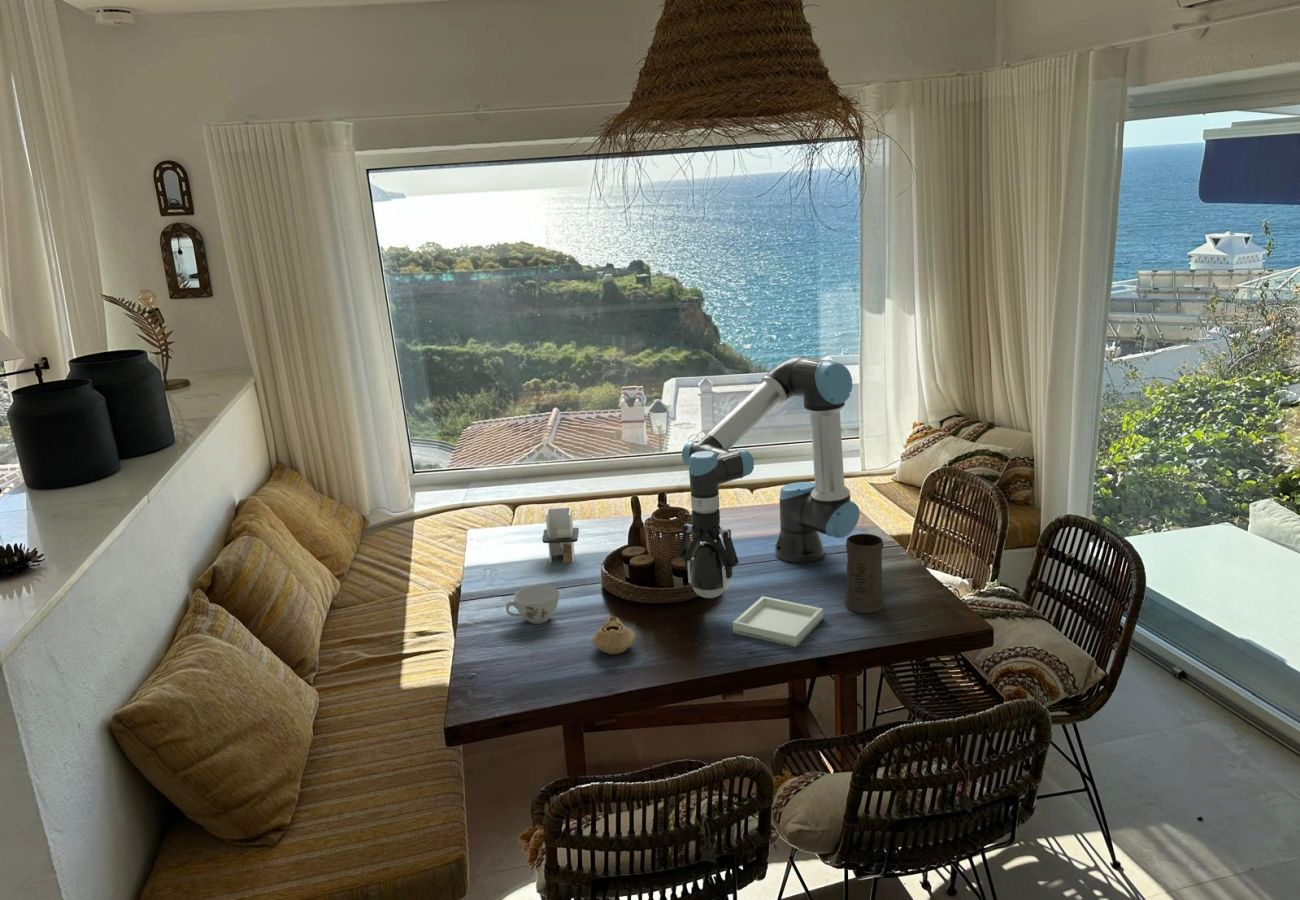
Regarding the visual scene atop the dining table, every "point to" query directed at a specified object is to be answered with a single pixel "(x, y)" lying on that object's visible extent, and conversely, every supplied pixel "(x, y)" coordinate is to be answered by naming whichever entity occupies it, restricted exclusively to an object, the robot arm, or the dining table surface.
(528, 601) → the teacup
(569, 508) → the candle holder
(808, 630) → the tray
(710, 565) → the dark grey rounded piece
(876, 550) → the beer stein
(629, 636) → the oil lamp
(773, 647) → the dining table surface
